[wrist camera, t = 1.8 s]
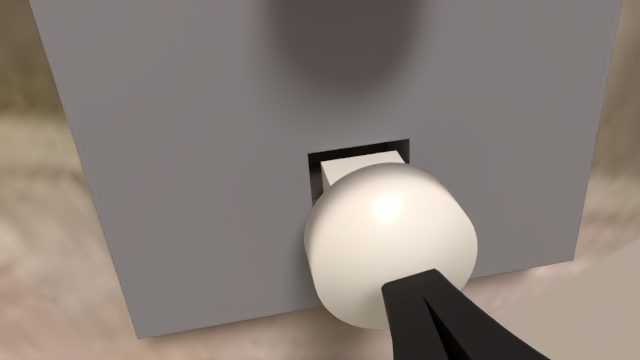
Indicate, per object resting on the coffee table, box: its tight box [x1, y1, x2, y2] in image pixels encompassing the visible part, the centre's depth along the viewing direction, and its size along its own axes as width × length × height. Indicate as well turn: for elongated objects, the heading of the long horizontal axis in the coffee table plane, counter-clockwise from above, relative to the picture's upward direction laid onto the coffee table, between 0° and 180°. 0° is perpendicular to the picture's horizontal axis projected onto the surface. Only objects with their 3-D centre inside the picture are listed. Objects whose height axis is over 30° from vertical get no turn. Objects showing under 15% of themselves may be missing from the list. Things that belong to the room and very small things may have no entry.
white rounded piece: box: [304, 151, 477, 329], centre depth 17 cm, size 4×4×4 cm
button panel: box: [29, 0, 622, 339], centre depth 17 cm, size 16×18×2 cm
